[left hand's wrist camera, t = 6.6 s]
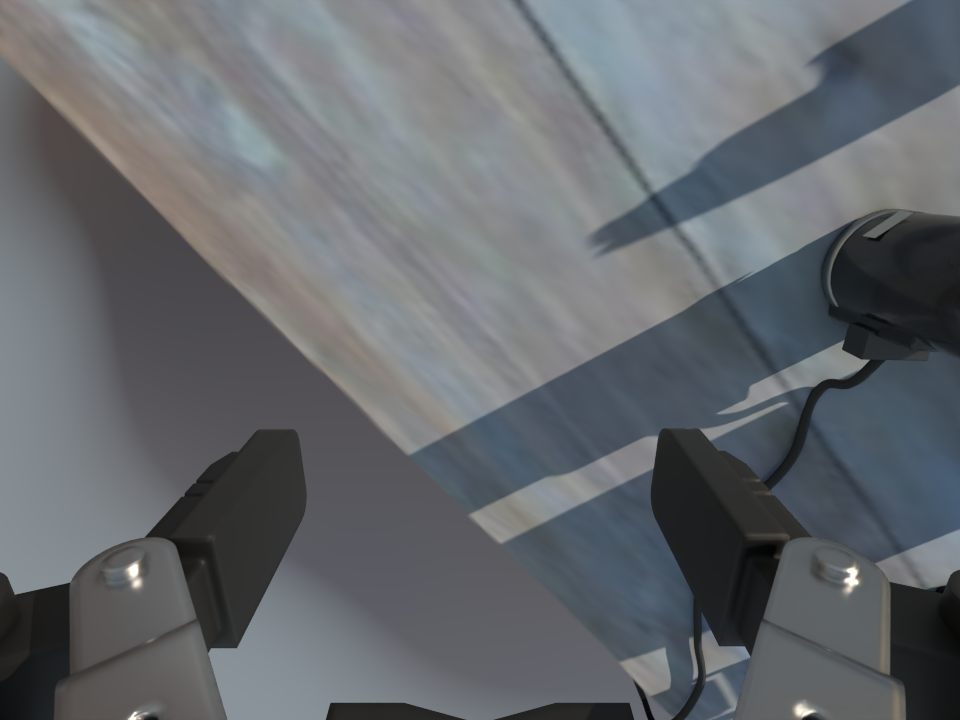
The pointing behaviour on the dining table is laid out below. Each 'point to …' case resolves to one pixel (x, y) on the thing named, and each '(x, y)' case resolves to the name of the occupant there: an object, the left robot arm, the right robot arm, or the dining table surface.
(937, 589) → the right robot arm
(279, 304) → the dining table surface
